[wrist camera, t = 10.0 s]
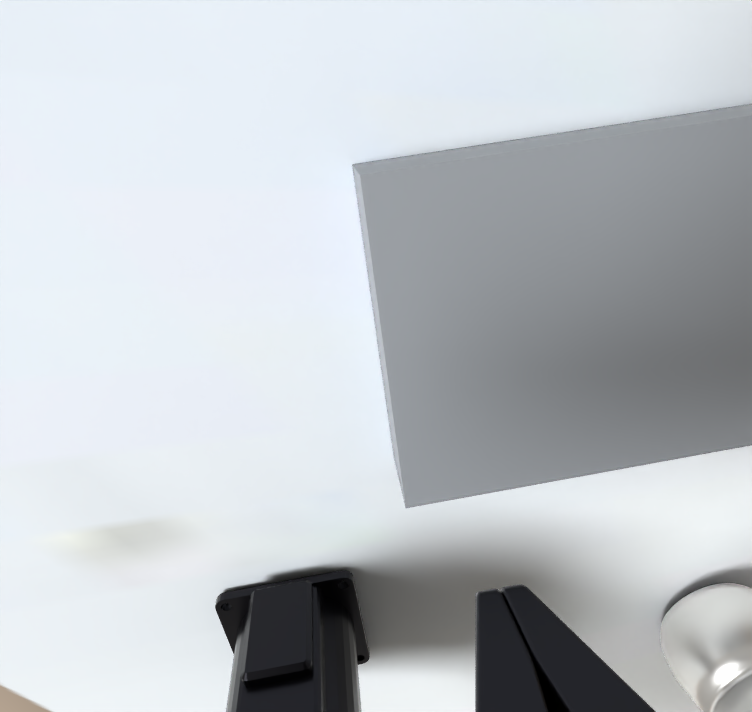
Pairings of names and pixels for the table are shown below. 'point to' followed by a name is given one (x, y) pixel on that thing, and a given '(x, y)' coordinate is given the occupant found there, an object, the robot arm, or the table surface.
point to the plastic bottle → (712, 646)
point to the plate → (563, 302)
